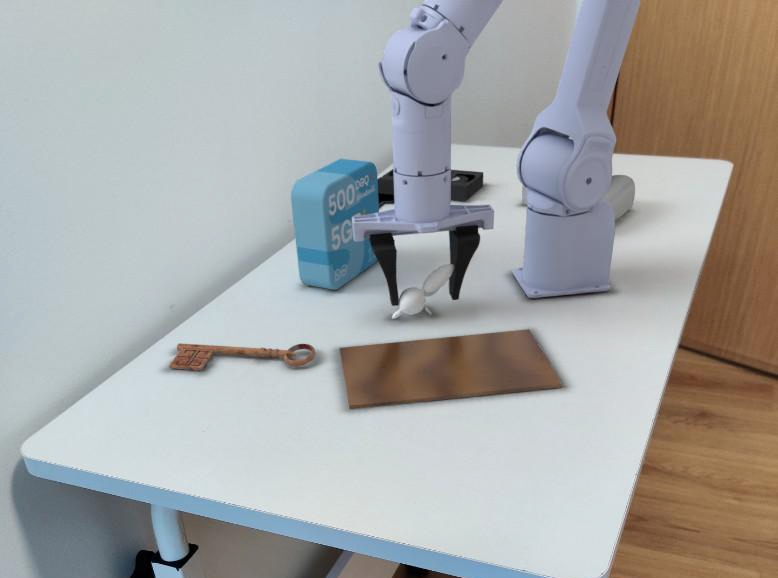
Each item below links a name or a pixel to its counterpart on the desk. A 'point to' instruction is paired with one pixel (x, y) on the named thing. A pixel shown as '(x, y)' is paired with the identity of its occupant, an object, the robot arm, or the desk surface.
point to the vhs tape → (461, 184)
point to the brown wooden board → (445, 368)
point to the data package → (333, 222)
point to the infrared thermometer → (613, 194)
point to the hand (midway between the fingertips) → (423, 299)
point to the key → (202, 357)
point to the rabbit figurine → (423, 292)
